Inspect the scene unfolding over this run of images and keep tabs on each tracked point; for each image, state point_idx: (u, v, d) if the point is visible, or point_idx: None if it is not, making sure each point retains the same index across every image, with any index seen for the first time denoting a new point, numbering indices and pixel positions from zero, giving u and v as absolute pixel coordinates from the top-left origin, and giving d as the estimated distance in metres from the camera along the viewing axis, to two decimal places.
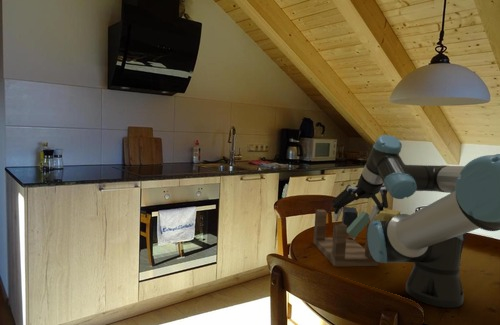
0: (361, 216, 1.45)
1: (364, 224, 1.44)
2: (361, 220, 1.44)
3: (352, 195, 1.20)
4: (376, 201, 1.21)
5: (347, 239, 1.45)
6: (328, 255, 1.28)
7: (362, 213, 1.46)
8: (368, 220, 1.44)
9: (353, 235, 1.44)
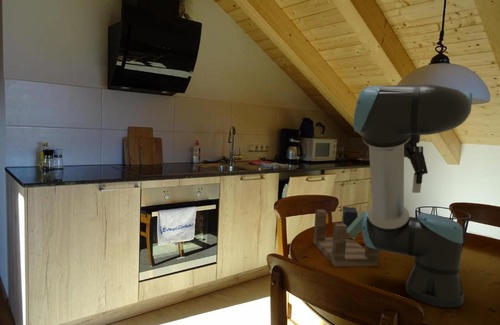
0: (361, 216, 1.45)
1: None
2: (361, 220, 1.44)
3: None
4: (411, 161, 1.25)
5: (347, 239, 1.45)
6: (328, 255, 1.28)
7: (362, 213, 1.46)
8: None
9: (353, 235, 1.44)
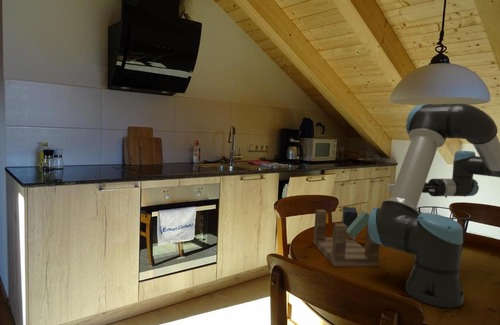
0: (361, 216, 1.45)
1: (364, 224, 1.44)
2: (361, 220, 1.44)
3: None
4: None
5: (347, 239, 1.45)
6: (328, 255, 1.28)
7: (362, 213, 1.46)
8: None
9: (353, 235, 1.44)
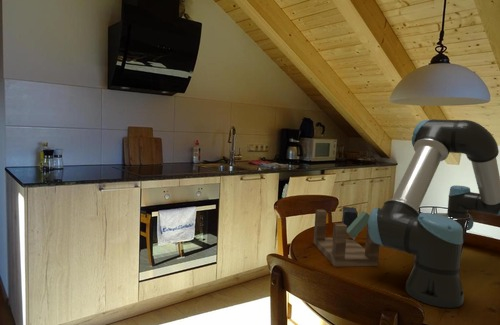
0: (361, 216, 1.45)
1: (364, 224, 1.44)
2: (361, 220, 1.44)
3: None
4: None
5: (347, 239, 1.45)
6: (328, 255, 1.28)
7: (362, 213, 1.46)
8: None
9: (353, 235, 1.44)
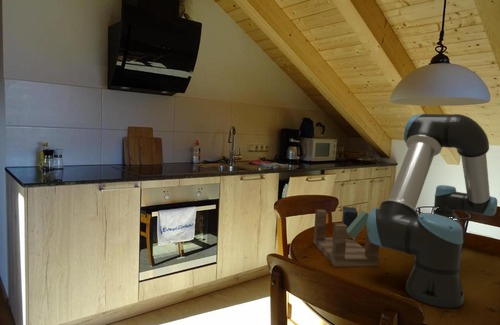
0: (360, 216, 1.45)
1: (364, 224, 1.44)
2: (361, 220, 1.44)
3: None
4: None
5: (347, 239, 1.45)
6: (328, 255, 1.28)
7: (362, 213, 1.46)
8: None
9: (353, 235, 1.44)
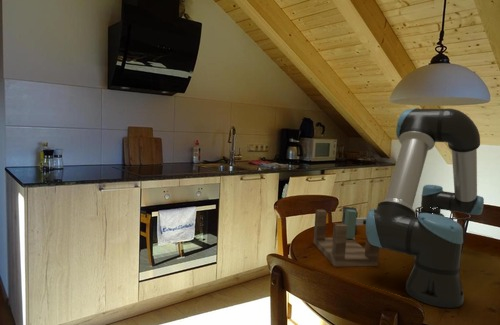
0: (347, 216, 1.44)
1: (354, 221, 1.44)
2: (349, 220, 1.43)
3: None
4: None
5: (347, 239, 1.45)
6: (328, 255, 1.28)
7: (346, 212, 1.45)
8: (355, 216, 1.43)
9: (351, 236, 1.44)
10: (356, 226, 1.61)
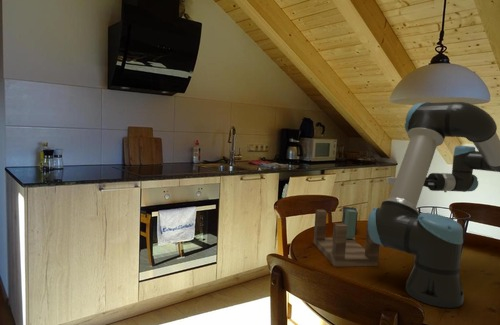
0: (347, 216, 1.44)
1: (354, 221, 1.44)
2: (349, 220, 1.43)
3: None
4: None
5: (347, 239, 1.45)
6: (328, 255, 1.28)
7: (346, 212, 1.45)
8: (355, 216, 1.43)
9: (351, 236, 1.44)
10: (356, 226, 1.61)
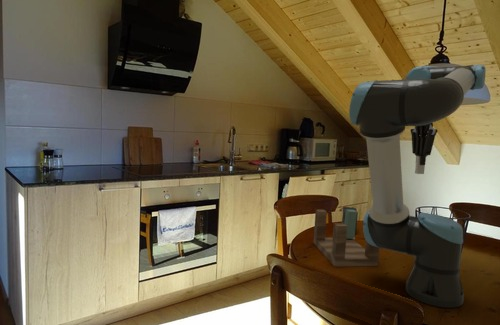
0: (347, 216, 1.44)
1: (354, 221, 1.44)
2: (349, 220, 1.43)
3: None
4: (421, 141, 1.29)
5: (347, 239, 1.45)
6: (328, 255, 1.28)
7: (346, 212, 1.45)
8: (355, 216, 1.43)
9: (351, 236, 1.44)
10: (356, 226, 1.61)
